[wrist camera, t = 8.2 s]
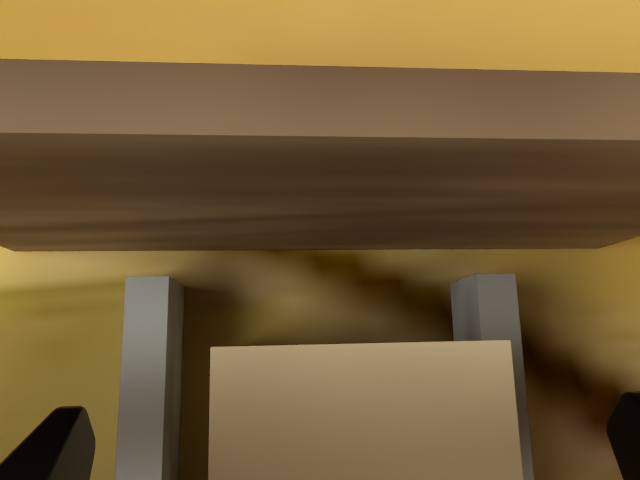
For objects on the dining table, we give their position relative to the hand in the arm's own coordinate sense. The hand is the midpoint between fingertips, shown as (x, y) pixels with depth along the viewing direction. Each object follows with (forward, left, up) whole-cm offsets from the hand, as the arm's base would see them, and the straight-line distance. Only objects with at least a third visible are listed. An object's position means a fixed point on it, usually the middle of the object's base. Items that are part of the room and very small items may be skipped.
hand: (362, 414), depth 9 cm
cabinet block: (-1, 0, -9) cm, 9 cm away
